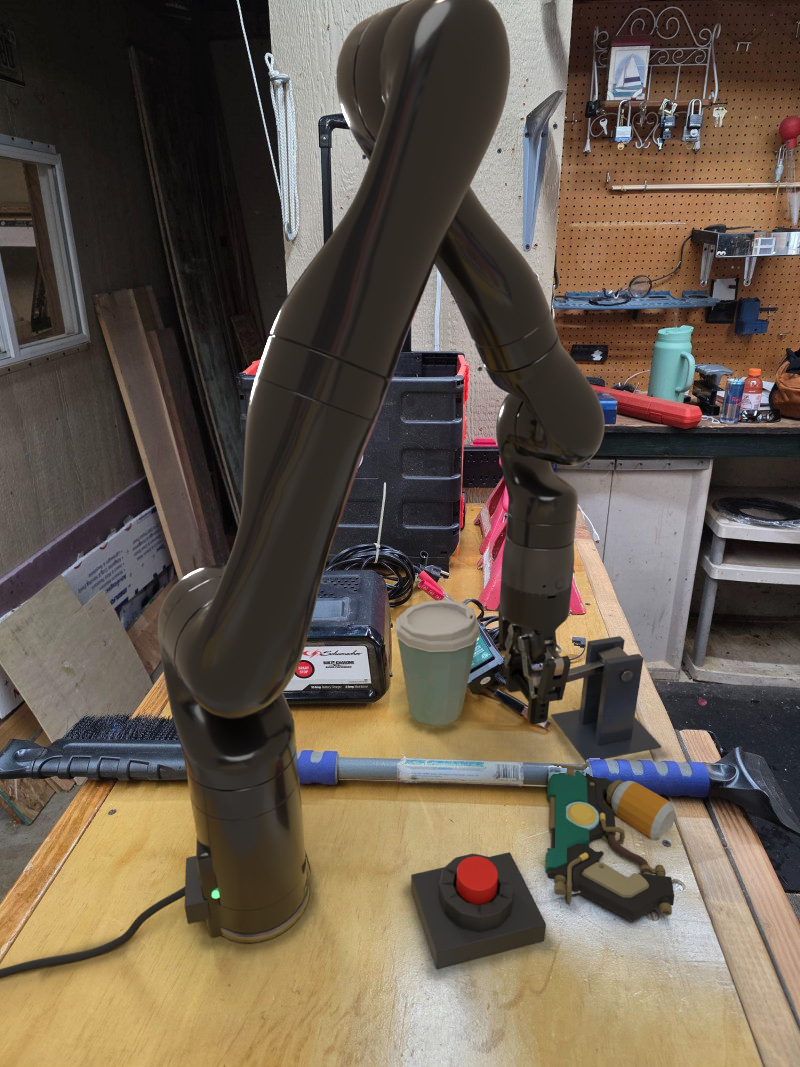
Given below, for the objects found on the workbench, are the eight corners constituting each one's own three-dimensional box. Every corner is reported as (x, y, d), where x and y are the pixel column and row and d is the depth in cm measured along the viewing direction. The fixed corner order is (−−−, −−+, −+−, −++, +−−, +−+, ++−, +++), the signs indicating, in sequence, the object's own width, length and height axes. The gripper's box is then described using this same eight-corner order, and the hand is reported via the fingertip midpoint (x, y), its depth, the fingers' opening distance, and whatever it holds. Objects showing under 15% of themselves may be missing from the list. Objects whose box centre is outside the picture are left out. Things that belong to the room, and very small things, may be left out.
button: (464, 908, 60) (465, 894, 59) (451, 874, 63) (451, 860, 62) (503, 899, 60) (504, 884, 60) (488, 866, 64) (488, 852, 63)
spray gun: (665, 951, 60) (502, 888, 67) (690, 814, 73) (552, 772, 80) (669, 919, 58) (502, 857, 65) (694, 784, 72) (553, 743, 78)
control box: (436, 970, 58) (436, 937, 57) (410, 891, 65) (410, 860, 64) (544, 941, 61) (548, 909, 59) (508, 868, 68) (510, 837, 66)
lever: (531, 712, 77) (529, 695, 76) (511, 684, 82) (510, 668, 81) (637, 680, 79) (637, 663, 78) (611, 655, 84) (611, 638, 83)
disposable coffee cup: (386, 734, 86) (384, 631, 80) (404, 685, 96) (403, 589, 90) (471, 746, 84) (475, 640, 78) (480, 694, 94) (484, 597, 88)
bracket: (584, 769, 80) (596, 677, 75) (550, 721, 88) (558, 635, 83) (660, 754, 83) (675, 663, 78) (619, 709, 91) (631, 624, 86)
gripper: (479, 552, 79) (473, 676, 86) (533, 611, 66) (521, 751, 73) (539, 545, 81) (529, 667, 87) (602, 601, 68) (585, 739, 75)
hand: (525, 704), depth 80 cm, fingers closed on lever, 5 cm apart
